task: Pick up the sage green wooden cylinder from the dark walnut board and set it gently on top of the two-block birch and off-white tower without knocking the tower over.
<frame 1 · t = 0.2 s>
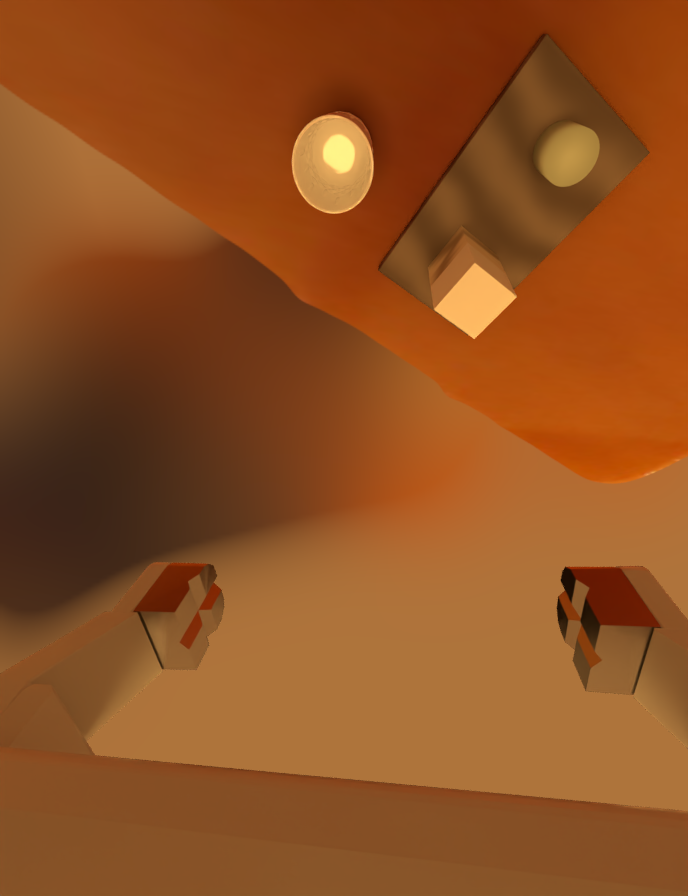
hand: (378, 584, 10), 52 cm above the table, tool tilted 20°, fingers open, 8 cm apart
walnut board: (496, 214, 49), on the table
white cup: (342, 149, 46), on the table
tower base block: (461, 261, 52), point 1 cm above the table, touching tower top block, walnut board
green cylinder: (557, 149, 43), point 1 cm above the table, touching walnut board
tower top block: (467, 280, 47), point 7 cm above the table, touching tower base block
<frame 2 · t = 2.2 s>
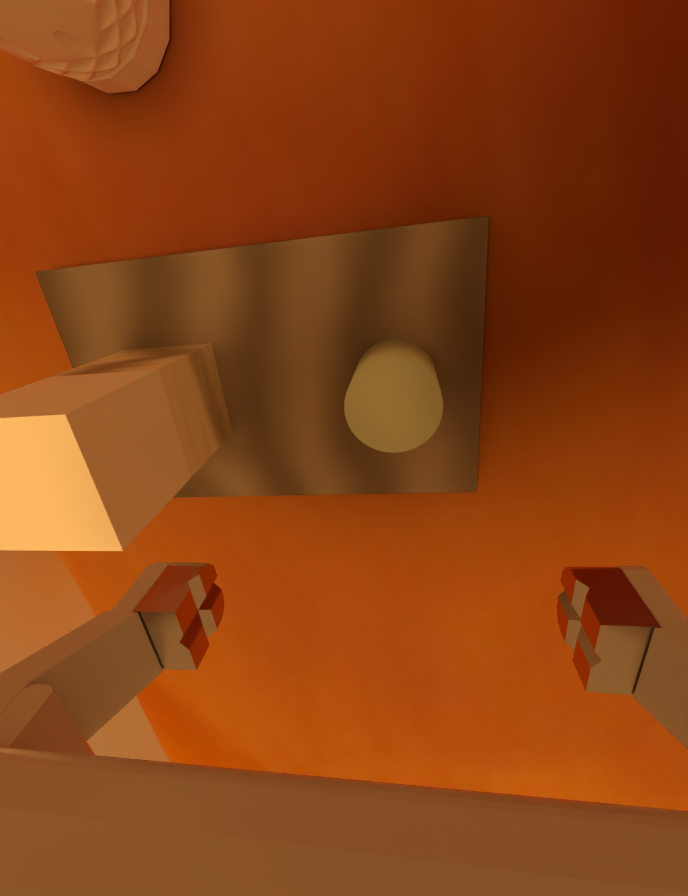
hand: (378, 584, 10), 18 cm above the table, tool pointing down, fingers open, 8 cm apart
walnut board: (273, 380, 27), on the table
white cup: (108, 8, 20), on the table
tower base block: (179, 392, 27), point 1 cm above the table, touching tower top block, walnut board
green cylinder: (394, 379, 24), point 1 cm above the table, touching walnut board
tower top block: (122, 429, 21), point 7 cm above the table, touching tower base block
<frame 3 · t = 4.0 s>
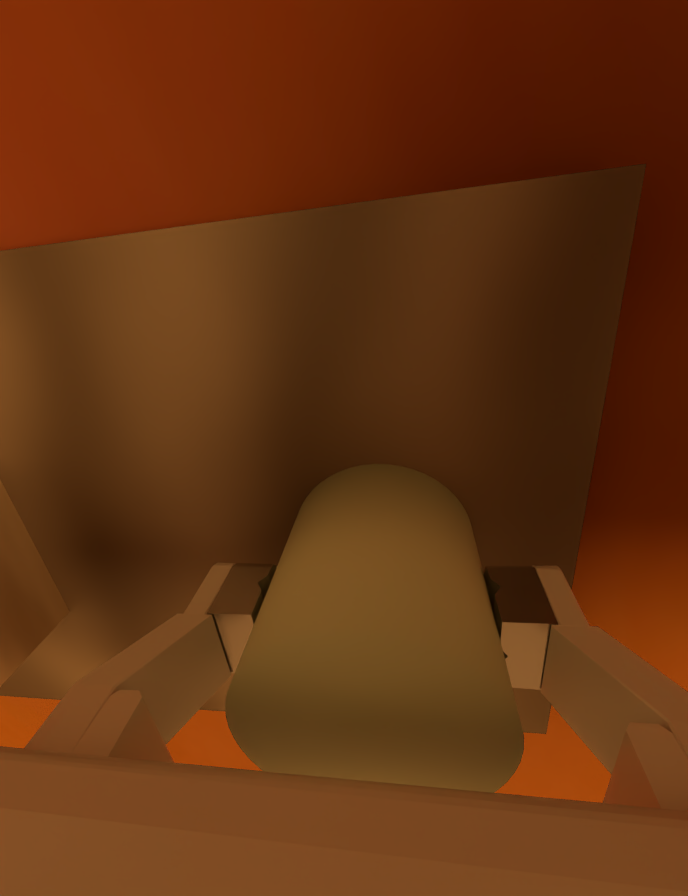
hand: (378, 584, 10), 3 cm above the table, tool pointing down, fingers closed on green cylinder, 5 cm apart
walnut board: (146, 513, 14), on the table
green cylinder: (381, 541, 11), point 1 cm above the table, touching gripper, walnut board
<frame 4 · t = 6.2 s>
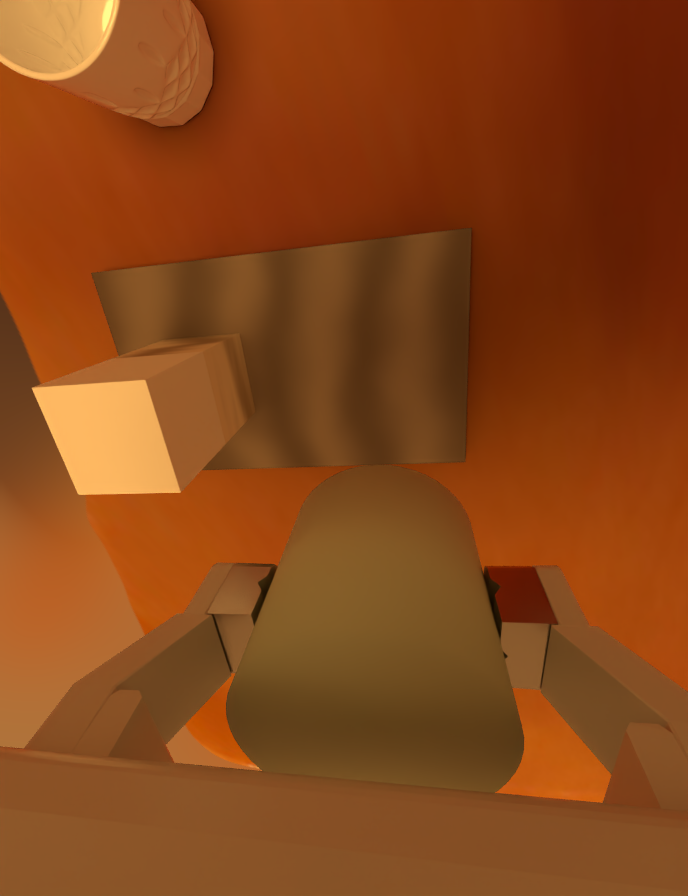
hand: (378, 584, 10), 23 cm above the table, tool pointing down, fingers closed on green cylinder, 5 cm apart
walnut board: (291, 366, 31), on the table
white cup: (162, 59, 24), on the table
tower base block: (210, 376, 31), point 1 cm above the table, touching tower top block, walnut board
green cylinder: (381, 542, 11), point 21 cm above the table, touching gripper
tower top block: (170, 402, 26), point 7 cm above the table, touching tower base block
when the fingers open (16 cm above the table, at t = 8.6 s): green cylinder stays where it is, resting on tower top block.
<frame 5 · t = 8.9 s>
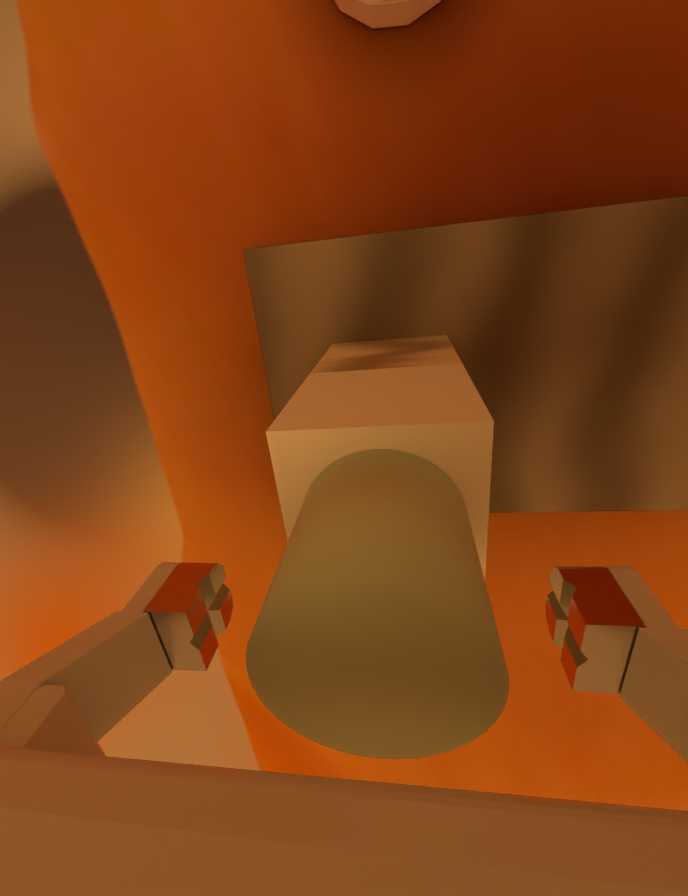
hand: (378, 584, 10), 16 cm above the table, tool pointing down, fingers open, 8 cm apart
walnut board: (498, 379, 23), on the table
tower base block: (391, 394, 23), point 1 cm above the table, touching tower top block, walnut board
green cylinder: (383, 522, 12), point 13 cm above the table, touching tower top block
tower top block: (388, 437, 17), point 7 cm above the table, touching green cylinder, tower base block
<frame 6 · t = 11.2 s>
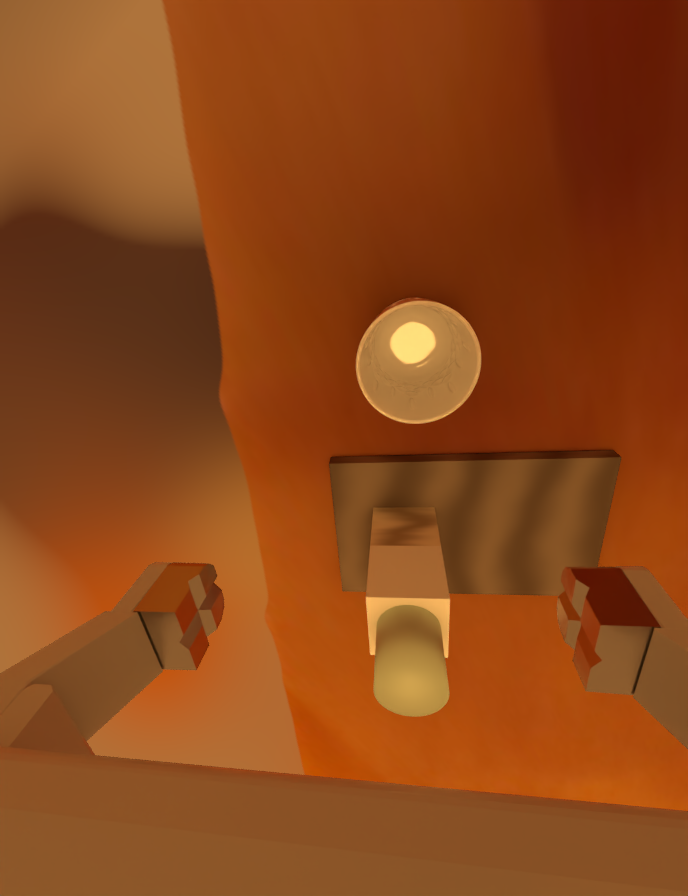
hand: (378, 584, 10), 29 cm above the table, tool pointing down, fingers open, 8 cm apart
walnut board: (462, 523, 42), on the table
white cup: (411, 338, 35), on the table
tower base block: (404, 532, 41), point 1 cm above the table, touching tower top block, walnut board
green cylinder: (408, 628, 31), point 13 cm above the table, touching tower top block
tower top block: (405, 573, 36), point 7 cm above the table, touching green cylinder, tower base block
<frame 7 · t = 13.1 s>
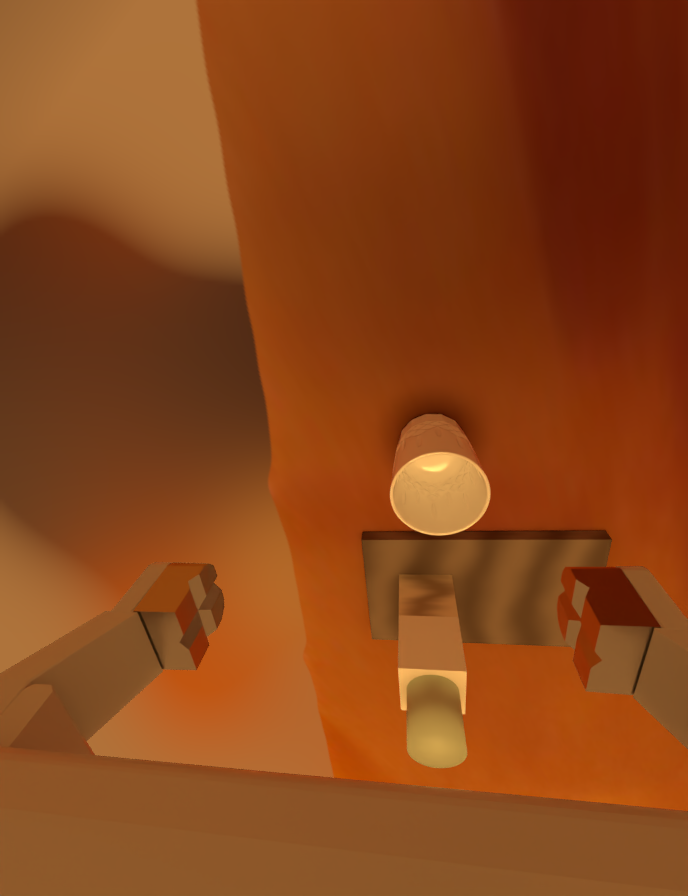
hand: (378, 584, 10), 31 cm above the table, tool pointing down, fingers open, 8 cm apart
walnut board: (476, 585, 49), on the table
white cup: (431, 442, 42), on the table
tower base block: (425, 594, 48), point 1 cm above the table, touching tower top block, walnut board
green cylinder: (432, 691, 38), point 13 cm above the table, touching tower top block
tower top block: (428, 636, 43), point 7 cm above the table, touching green cylinder, tower base block
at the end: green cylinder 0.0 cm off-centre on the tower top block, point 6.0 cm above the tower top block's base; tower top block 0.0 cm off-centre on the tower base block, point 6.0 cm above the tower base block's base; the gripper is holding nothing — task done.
